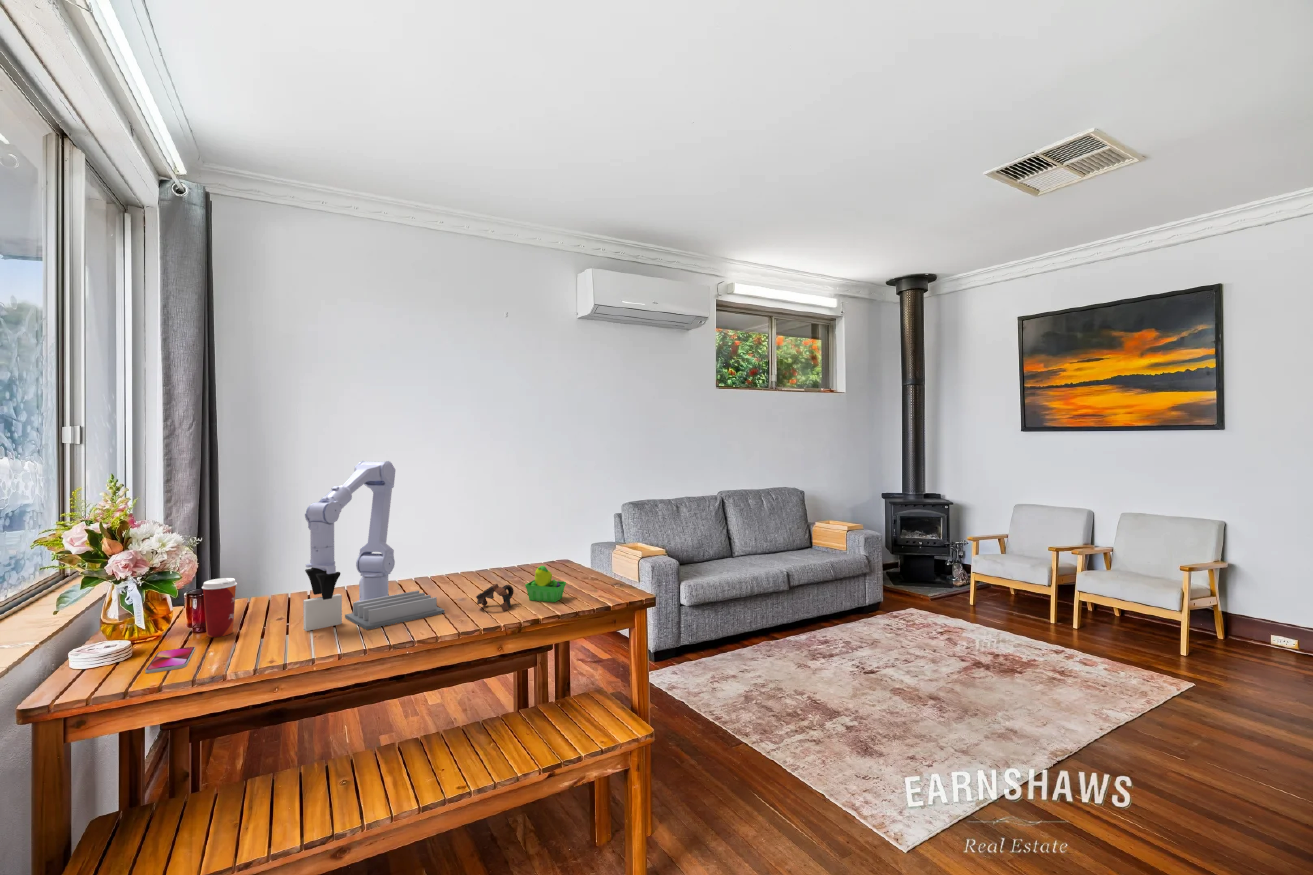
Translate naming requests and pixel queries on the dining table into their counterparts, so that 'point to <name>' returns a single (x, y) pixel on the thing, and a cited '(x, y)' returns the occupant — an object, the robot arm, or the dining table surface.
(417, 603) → the dish rack
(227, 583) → the paper cup
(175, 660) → the smartphone
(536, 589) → the fruit basket
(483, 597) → the dark brown curved piece
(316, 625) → the cream plate
